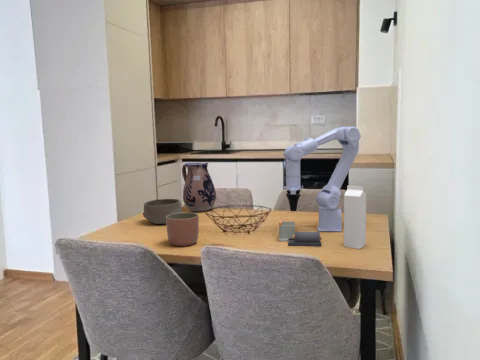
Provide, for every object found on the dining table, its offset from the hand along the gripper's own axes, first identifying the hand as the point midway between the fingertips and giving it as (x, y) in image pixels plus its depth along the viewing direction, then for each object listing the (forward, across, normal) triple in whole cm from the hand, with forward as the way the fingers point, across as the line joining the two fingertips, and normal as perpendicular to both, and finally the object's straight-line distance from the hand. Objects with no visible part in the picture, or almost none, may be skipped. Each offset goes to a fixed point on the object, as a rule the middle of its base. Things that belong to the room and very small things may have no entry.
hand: (293, 209), depth 174 cm
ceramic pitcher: (+10, -47, -51) cm, 70 cm away
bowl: (+10, -18, -61) cm, 64 cm away
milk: (+10, +18, +22) cm, 30 cm away
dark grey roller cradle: (+10, +16, +4) cm, 19 cm away
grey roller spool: (+7, +16, +5) cm, 18 cm away
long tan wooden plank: (+4, +9, -5) cm, 11 cm away
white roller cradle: (+10, +8, +2) cm, 13 cm away
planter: (+10, +17, -42) cm, 46 cm away
